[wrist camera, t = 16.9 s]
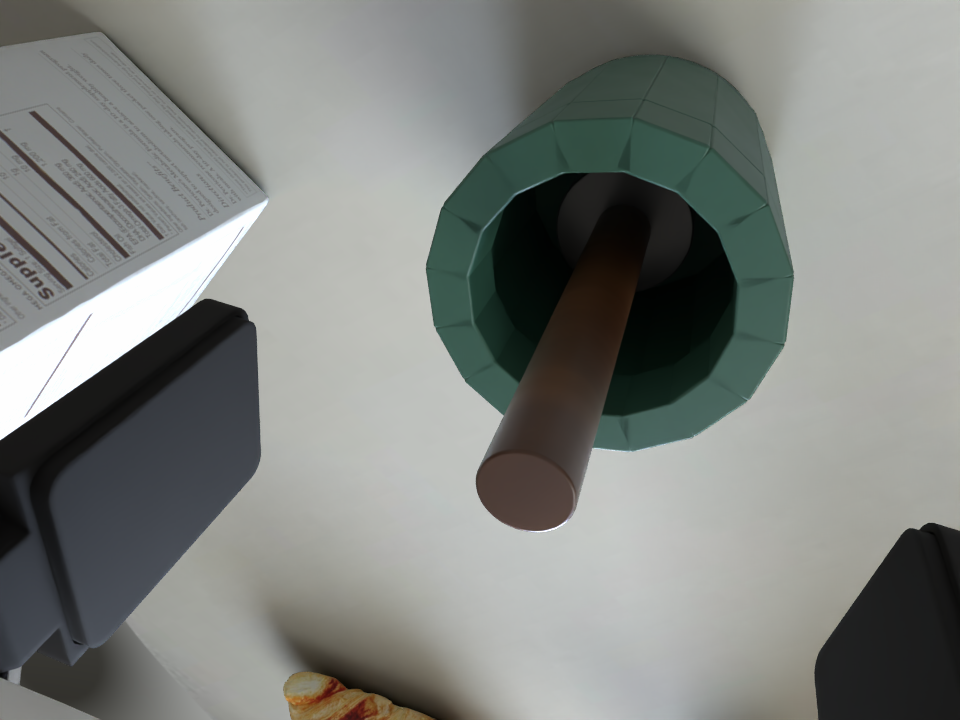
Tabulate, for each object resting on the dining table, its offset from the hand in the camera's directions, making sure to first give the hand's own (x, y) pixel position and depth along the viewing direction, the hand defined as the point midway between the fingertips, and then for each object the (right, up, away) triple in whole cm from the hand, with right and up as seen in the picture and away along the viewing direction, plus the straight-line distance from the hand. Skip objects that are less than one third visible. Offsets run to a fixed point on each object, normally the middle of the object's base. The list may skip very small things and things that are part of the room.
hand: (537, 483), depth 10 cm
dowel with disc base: (+4, +7, +14) cm, 16 cm away
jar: (+5, +8, +14) cm, 17 cm away
